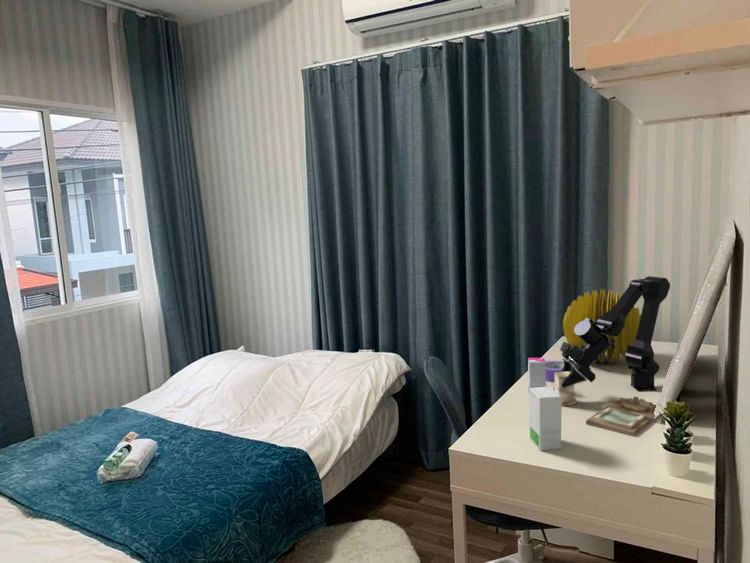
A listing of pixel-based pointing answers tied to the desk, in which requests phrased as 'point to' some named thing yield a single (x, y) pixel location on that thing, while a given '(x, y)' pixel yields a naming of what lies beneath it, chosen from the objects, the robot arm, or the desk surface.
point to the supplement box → (536, 373)
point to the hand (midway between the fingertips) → (560, 383)
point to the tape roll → (553, 369)
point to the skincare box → (545, 418)
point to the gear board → (624, 416)
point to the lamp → (594, 310)
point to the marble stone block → (564, 389)
